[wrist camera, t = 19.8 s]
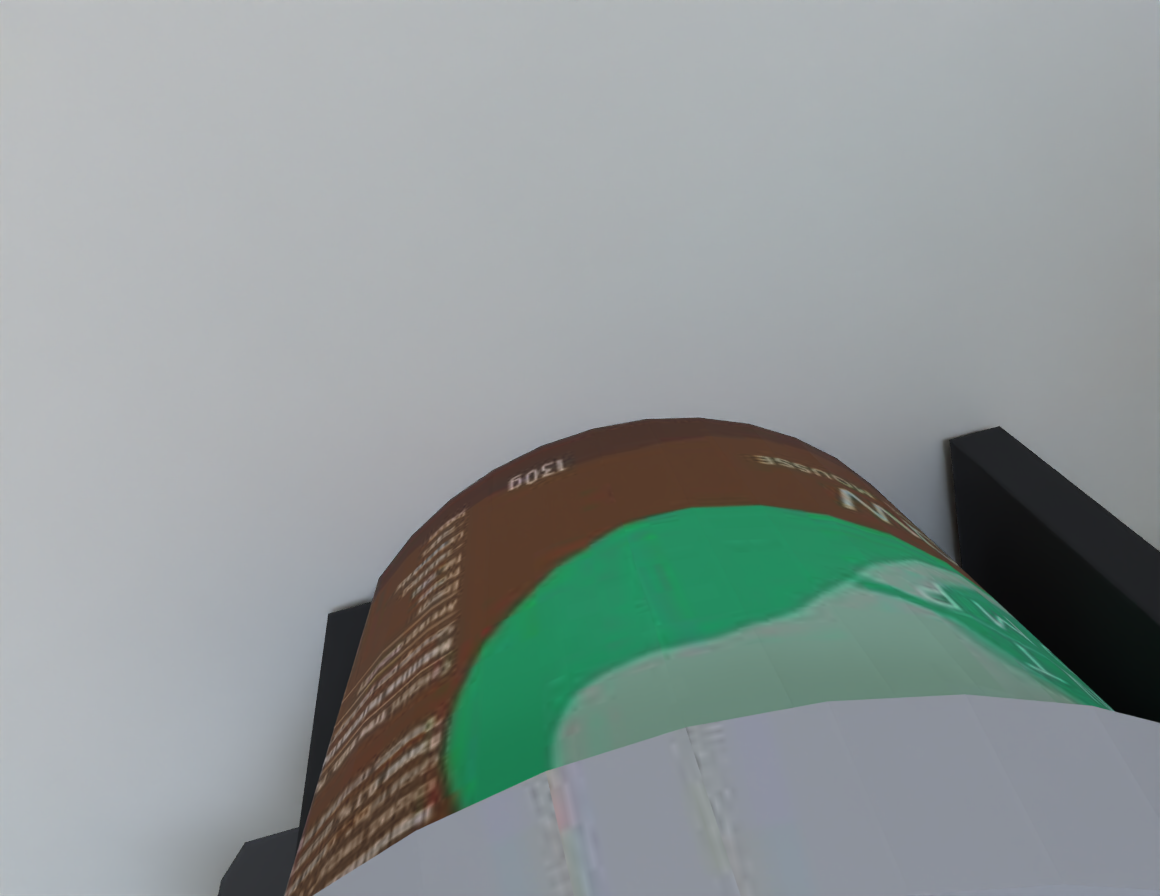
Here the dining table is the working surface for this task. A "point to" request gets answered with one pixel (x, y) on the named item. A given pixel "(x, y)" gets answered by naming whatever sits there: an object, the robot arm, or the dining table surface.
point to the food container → (712, 698)
